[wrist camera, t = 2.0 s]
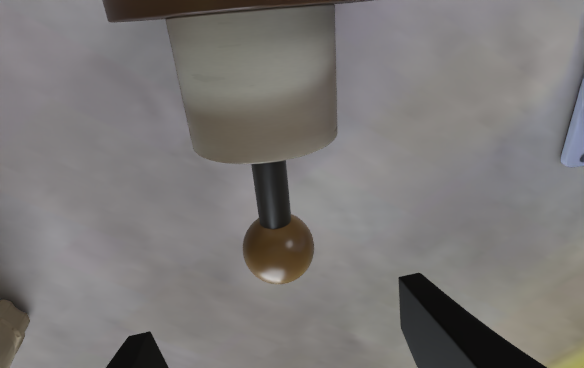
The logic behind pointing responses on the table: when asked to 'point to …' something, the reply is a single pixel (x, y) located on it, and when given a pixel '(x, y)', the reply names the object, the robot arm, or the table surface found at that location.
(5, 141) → the table surface
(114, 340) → the table surface
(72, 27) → the table surface
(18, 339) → the handle
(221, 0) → the joystick
